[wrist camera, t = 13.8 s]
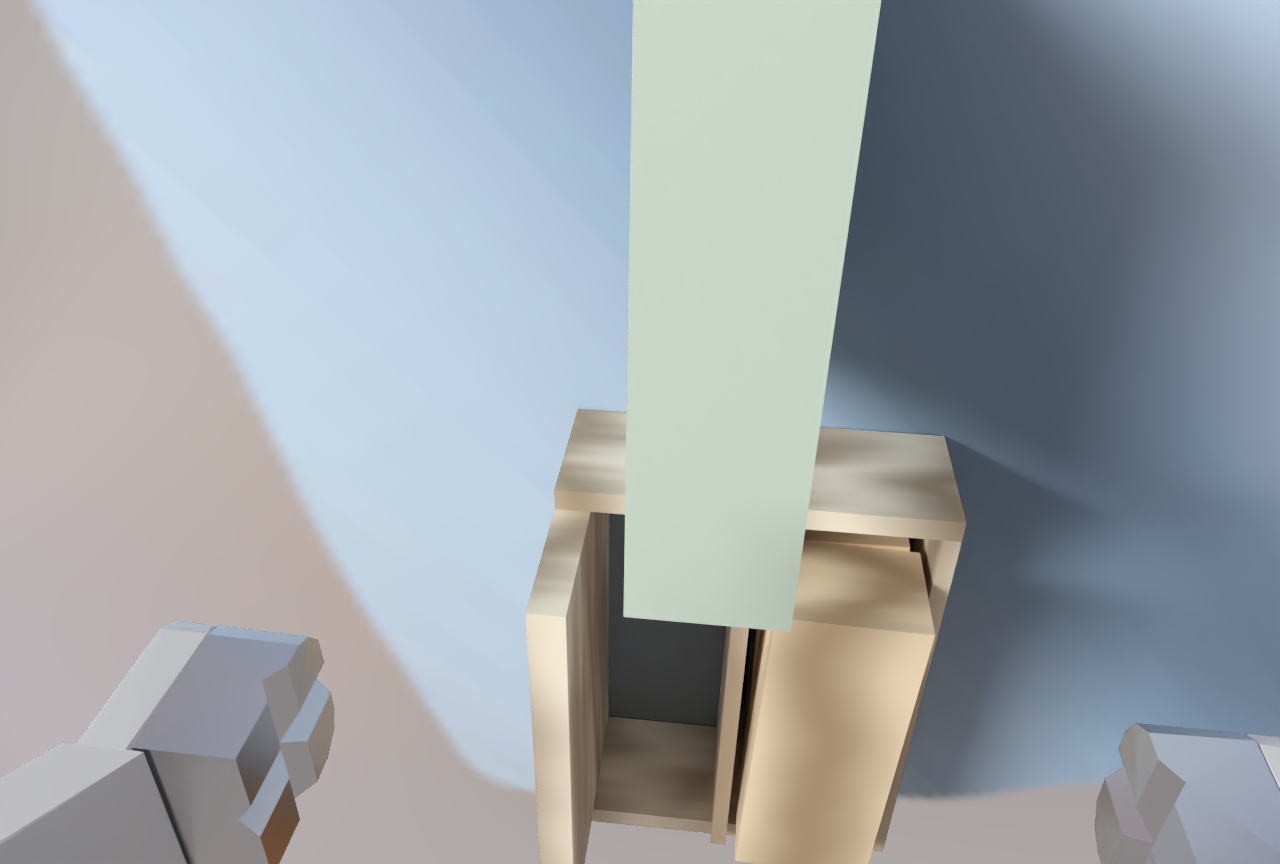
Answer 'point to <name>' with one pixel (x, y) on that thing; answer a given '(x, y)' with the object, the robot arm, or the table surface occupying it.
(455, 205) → the table surface
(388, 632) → the table surface
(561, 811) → the box
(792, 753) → the upper offcut
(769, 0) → the sheet
